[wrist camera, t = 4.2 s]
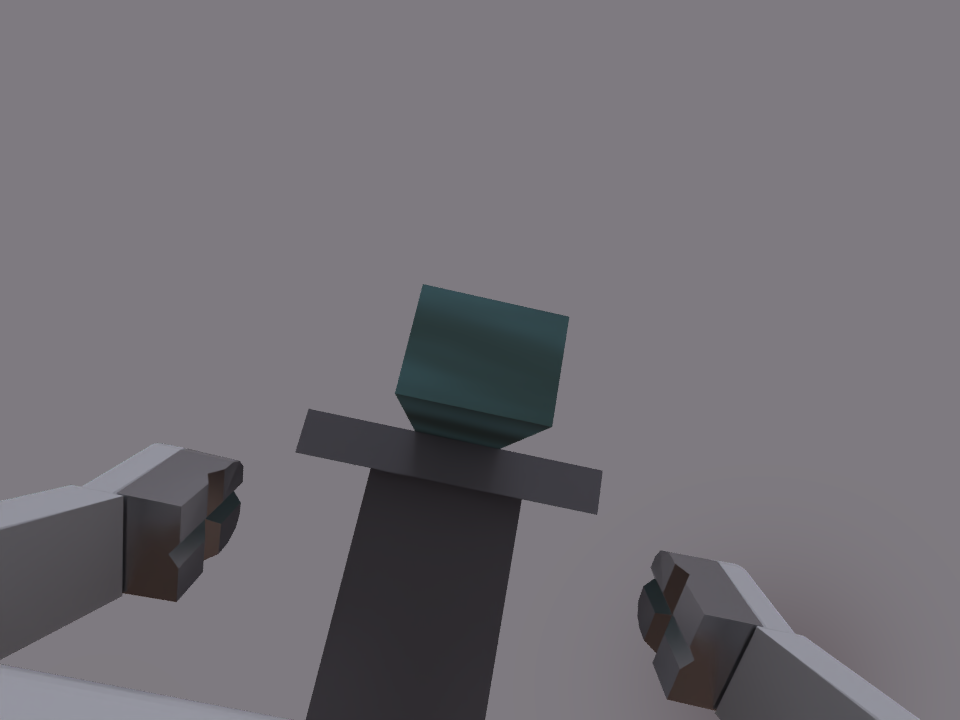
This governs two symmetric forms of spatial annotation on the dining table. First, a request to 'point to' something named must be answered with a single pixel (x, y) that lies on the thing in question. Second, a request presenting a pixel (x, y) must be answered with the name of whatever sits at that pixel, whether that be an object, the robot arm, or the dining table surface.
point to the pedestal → (426, 567)
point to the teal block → (481, 368)
